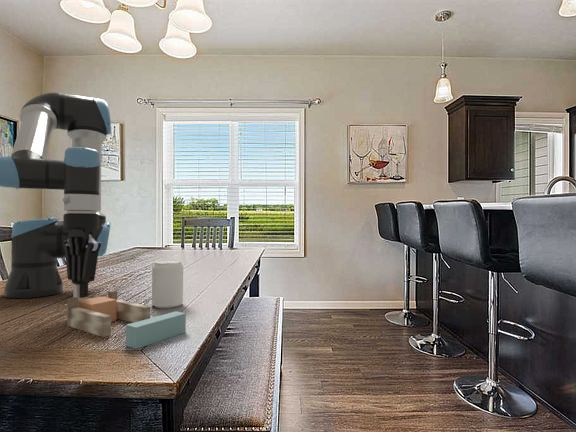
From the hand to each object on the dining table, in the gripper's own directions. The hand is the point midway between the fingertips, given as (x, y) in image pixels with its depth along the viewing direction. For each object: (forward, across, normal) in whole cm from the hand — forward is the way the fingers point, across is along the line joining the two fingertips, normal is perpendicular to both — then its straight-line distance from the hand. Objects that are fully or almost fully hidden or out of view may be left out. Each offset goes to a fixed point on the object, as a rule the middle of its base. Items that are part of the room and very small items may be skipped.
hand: (80, 310), depth 89 cm
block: (+2, +7, 0) cm, 7 cm away
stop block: (+2, +28, 0) cm, 28 cm away
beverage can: (+2, +8, +19) cm, 21 cm away
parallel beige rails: (+2, +12, 0) cm, 12 cm away
